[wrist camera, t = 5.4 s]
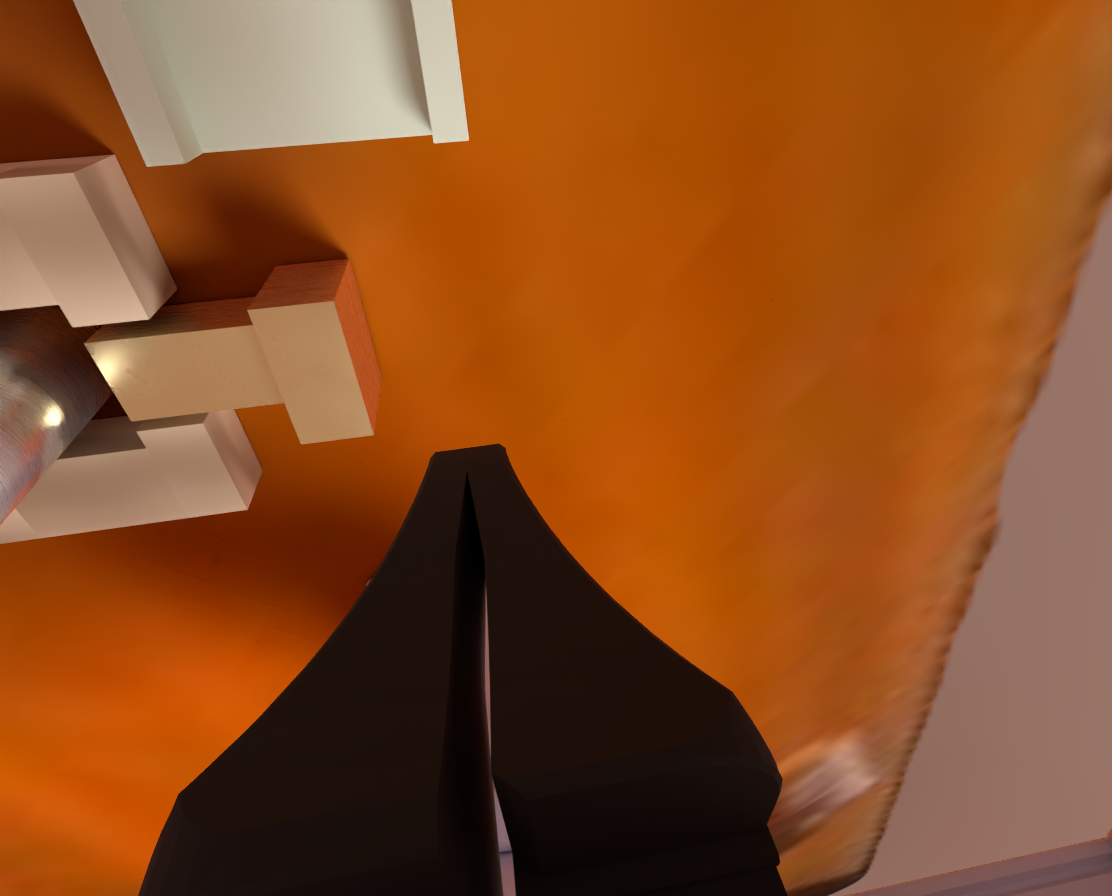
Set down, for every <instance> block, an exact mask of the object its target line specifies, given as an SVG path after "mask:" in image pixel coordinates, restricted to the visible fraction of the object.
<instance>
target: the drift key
mask: <svg viewBox="0 0 1112 896" xmlns="http://www.w3.org/2000/svg"><path fill="white" fill-rule="evenodd" d="M84 345H85V346H86V348H87V350H88V351H89V353H90V355H91V356H92V358H93V359H94V361H95V363H96V364H97V366H98V368H99V369H100V371H101V373H102V374H103V376H104V378H105V379H106V381H107V382H108V384H109V386H110V387H111V389H112V391H113V392H114V394H115V396H116V397H117V399H118V400H119V402H120V404H121V405H122V407H123V409H124V410H125V412H126V414H127V415H128V417H129V419H130V420H131V422H132V421H140V420H148V419H157V418H165V417H173V416H181V415H190V414H198V413H206V412H214V411H222V410H231V409H239V408H247V407H255V406H264V405H272V404H280V403H285V406H286V408H287V411H288V413H289V416H290V418H291V421H292V423H293V426H294V428H295V431H296V433H297V436H298V438H299V441H300V443H301V444H308V443H316V442H324V441H332V440H339V439H347V438H355V437H363V436H371V435H374V431H375V425H376V418H377V412H378V406H379V399H380V393H381V387H382V378H381V374H380V370H379V367H378V363H377V359H376V356H375V352H374V348H373V344H372V341H371V337H370V333H369V330H368V326H367V322H366V318H365V315H364V311H363V307H362V304H361V300H360V296H359V292H358V289H357V285H356V281H355V278H354V274H353V270H352V266H351V263H350V259H340V260H330V261H320V262H310V263H300V264H290V265H279V266H275V268H274V269H273V271H272V273H271V274H270V276H269V277H268V279H267V280H266V282H265V283H264V285H263V286H262V288H261V290H260V291H259V293H258V294H257V296H255V297H246V298H236V299H227V300H217V301H207V302H198V303H188V304H178V305H169V306H161V307H160V308H159V309H158V310H157V312H156V313H155V314H154V315H153V316H152V317H151V318H150V319H148V320H139V321H129V322H120V323H110V324H104V325H103V326H102V327H101V328H100V329H99V330H98V331H96V332H95V333H94V334H93V335H92V336H91V337H90V338H89V339H88V340H87V341H86V342H85V343H84Z"/></svg>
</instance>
